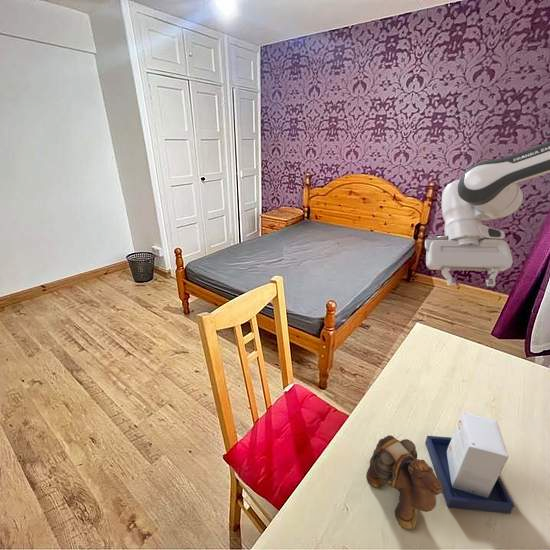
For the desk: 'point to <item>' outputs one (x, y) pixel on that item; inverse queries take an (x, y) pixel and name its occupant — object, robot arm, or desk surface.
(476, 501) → the tray
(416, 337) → the desk surface
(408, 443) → the figurine
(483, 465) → the small box
